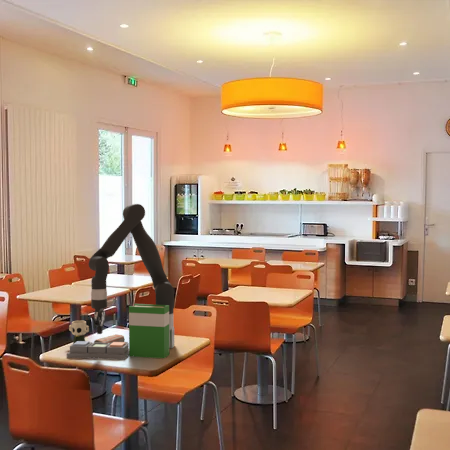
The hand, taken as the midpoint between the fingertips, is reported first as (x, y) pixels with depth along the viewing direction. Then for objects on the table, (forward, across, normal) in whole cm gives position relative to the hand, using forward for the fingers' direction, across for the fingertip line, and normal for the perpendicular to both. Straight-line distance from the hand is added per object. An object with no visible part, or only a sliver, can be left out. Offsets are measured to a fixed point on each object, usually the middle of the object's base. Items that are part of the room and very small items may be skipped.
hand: (99, 333), depth 282 cm
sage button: (+8, 0, 0) cm, 8 cm away
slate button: (+7, 0, +9) cm, 11 cm away
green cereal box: (+11, +2, -24) cm, 26 cm away
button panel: (+10, 0, 0) cm, 10 cm away
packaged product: (+11, +18, +1) cm, 22 cm away
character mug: (+11, +14, +15) cm, 23 cm away
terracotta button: (+7, 0, -9) cm, 11 cm away
